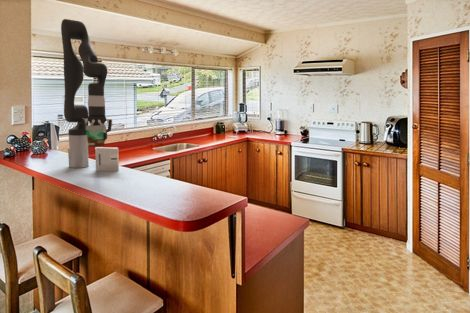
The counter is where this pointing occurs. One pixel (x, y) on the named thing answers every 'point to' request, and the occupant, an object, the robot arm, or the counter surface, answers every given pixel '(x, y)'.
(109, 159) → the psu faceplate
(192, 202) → the counter surface
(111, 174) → the counter surface
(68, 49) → the robot arm
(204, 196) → the counter surface
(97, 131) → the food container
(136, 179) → the counter surface
